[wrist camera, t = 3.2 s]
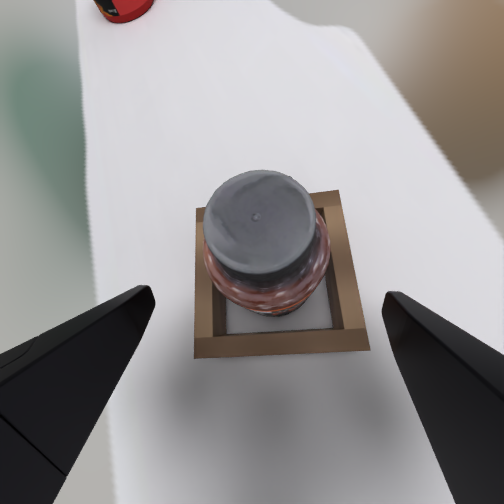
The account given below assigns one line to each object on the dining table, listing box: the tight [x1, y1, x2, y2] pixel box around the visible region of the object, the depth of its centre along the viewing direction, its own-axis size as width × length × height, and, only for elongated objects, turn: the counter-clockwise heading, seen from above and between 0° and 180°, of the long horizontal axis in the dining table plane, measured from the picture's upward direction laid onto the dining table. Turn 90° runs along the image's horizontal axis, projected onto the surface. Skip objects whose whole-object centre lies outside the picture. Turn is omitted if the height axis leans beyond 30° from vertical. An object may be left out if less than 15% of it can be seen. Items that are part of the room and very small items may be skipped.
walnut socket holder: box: [194, 190, 370, 359], centre depth 17 cm, size 10×10×4 cm
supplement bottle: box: [203, 170, 331, 317], centre depth 13 cm, size 6×6×11 cm
